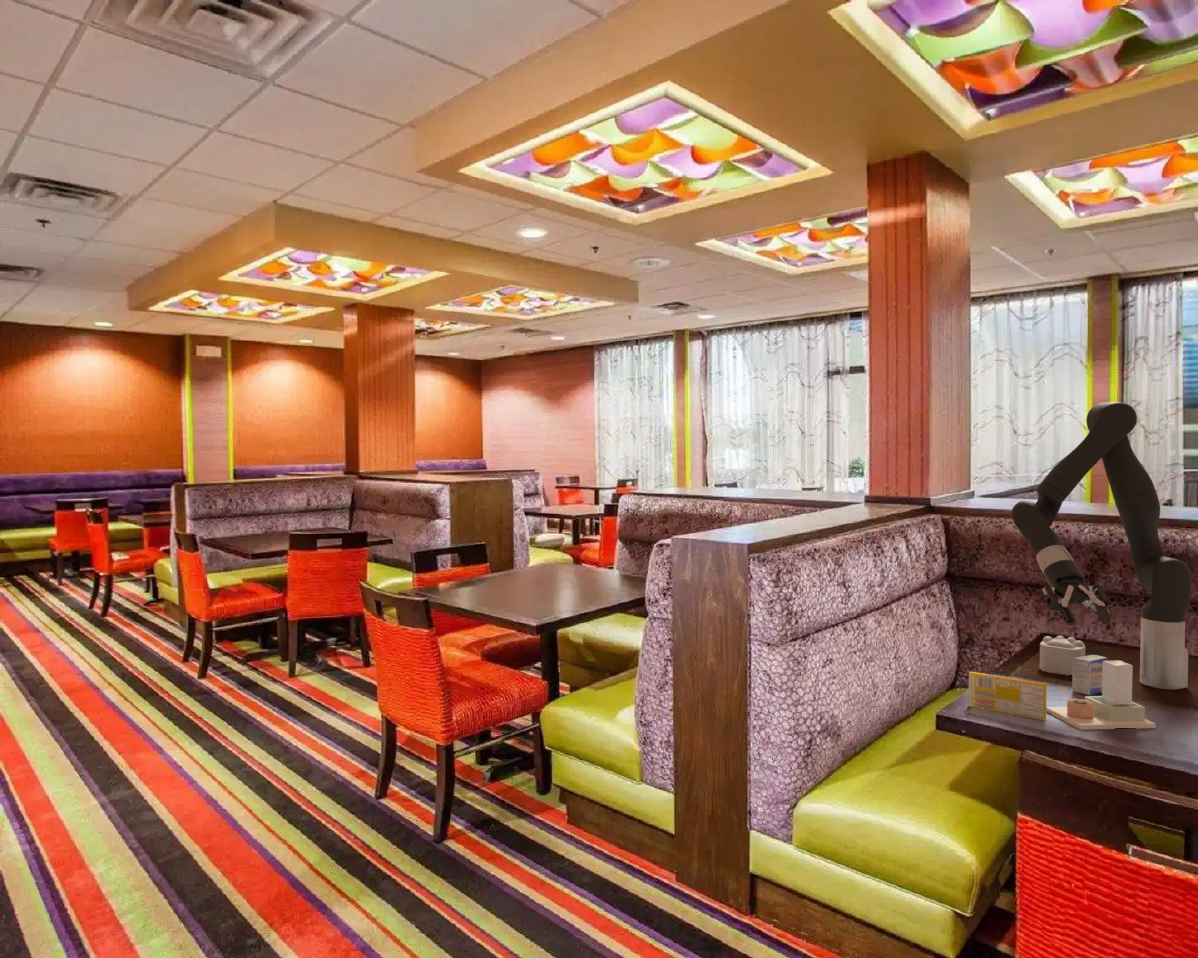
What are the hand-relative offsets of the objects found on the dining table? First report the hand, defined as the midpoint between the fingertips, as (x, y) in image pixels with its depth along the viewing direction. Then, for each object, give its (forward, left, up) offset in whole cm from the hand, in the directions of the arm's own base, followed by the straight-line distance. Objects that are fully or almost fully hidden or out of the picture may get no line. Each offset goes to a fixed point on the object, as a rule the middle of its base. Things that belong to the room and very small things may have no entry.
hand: (1089, 623), depth 184 cm
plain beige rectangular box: (0, +9, -19) cm, 21 cm away
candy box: (+22, +3, -20) cm, 30 cm away
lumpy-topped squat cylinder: (-15, -32, -20) cm, 40 cm away
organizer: (+4, +9, -20) cm, 22 cm away
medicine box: (-8, -11, -20) cm, 25 cm away
